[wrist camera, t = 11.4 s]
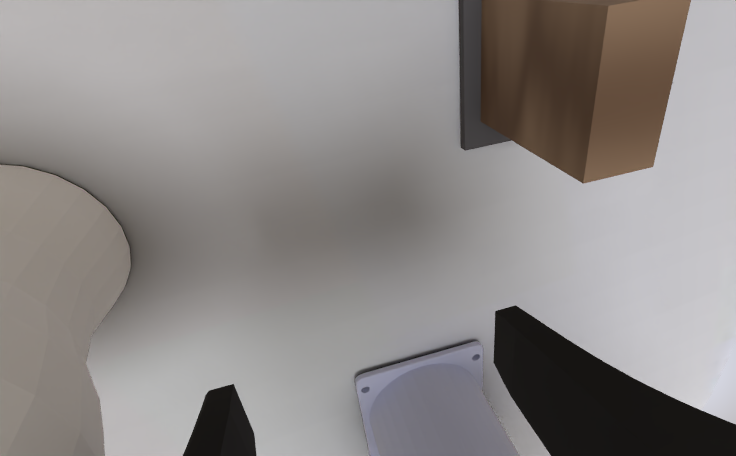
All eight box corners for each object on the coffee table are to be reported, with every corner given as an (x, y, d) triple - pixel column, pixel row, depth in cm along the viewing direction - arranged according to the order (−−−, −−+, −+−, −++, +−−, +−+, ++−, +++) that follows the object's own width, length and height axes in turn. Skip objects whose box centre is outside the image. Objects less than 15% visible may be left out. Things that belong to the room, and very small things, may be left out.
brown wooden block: (531, 110, 20) (652, 166, 14) (480, 121, 20) (582, 183, 14) (540, -14, 18) (692, -10, 12) (481, -5, 17) (608, 5, 11)
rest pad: (539, 130, 21) (544, 133, 21) (461, 147, 21) (464, 150, 20) (553, -40, 18) (559, -40, 17) (458, -25, 17) (463, -26, 17)
